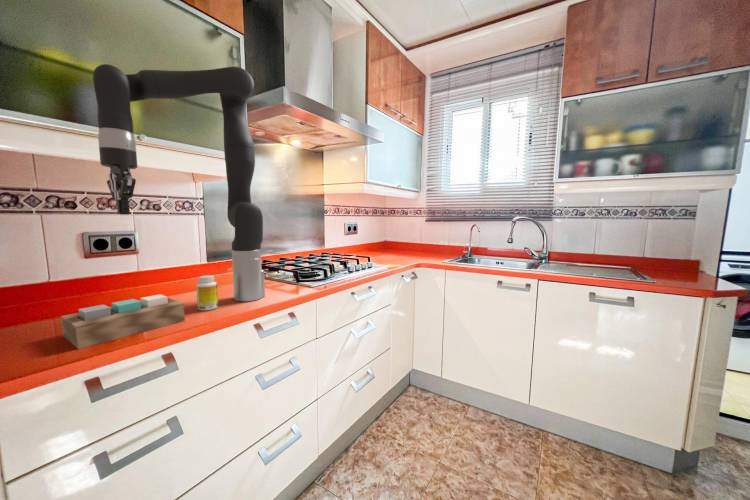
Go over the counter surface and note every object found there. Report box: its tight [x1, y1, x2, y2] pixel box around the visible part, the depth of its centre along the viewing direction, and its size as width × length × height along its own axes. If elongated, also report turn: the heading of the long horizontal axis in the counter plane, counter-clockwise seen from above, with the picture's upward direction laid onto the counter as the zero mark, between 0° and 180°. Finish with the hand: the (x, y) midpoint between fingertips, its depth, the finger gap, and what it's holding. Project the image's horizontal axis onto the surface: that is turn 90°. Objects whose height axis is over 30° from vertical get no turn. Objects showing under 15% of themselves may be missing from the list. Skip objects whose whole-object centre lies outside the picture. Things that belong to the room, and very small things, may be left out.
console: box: [60, 297, 186, 350], centre depth 75 cm, size 21×12×5 cm, turn 147°
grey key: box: [78, 304, 111, 321], centre depth 69 cm, size 4×4×4 cm
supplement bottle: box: [195, 274, 219, 312], centre depth 91 cm, size 6×6×10 cm
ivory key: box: [140, 293, 169, 308], centre depth 79 cm, size 4×4×4 cm
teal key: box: [111, 298, 141, 314], centre depth 74 cm, size 4×4×4 cm
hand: (123, 214), depth 80 cm, fingers closed
